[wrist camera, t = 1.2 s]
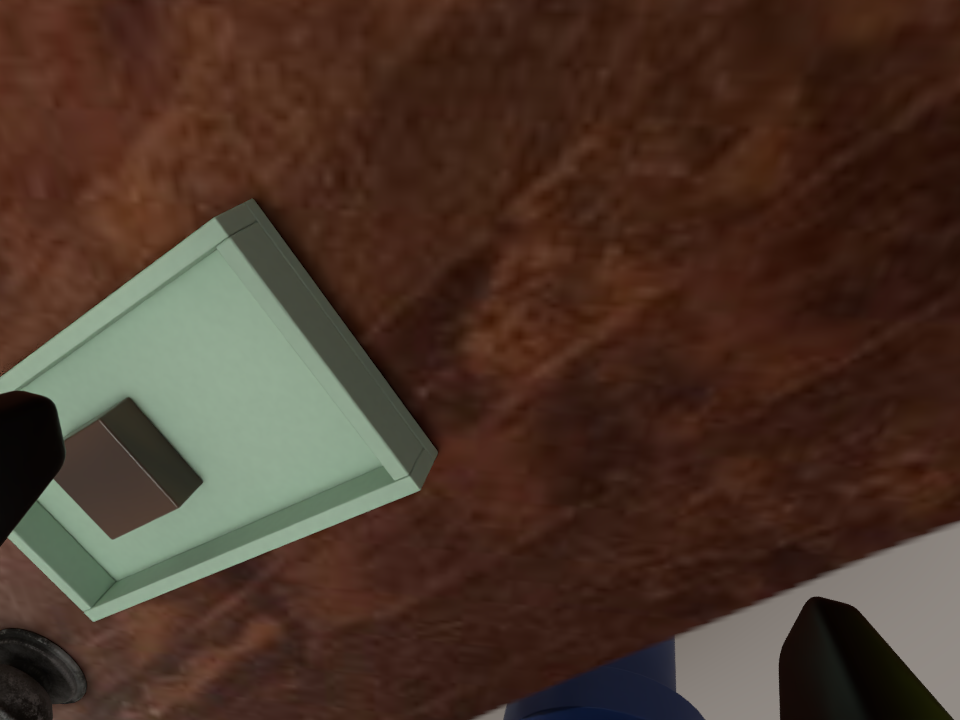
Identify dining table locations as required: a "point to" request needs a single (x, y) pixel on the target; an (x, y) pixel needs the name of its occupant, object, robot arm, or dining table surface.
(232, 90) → the dining table surface
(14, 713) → the grey ringed post
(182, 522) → the pan
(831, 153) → the dining table surface
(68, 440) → the brown flat block
